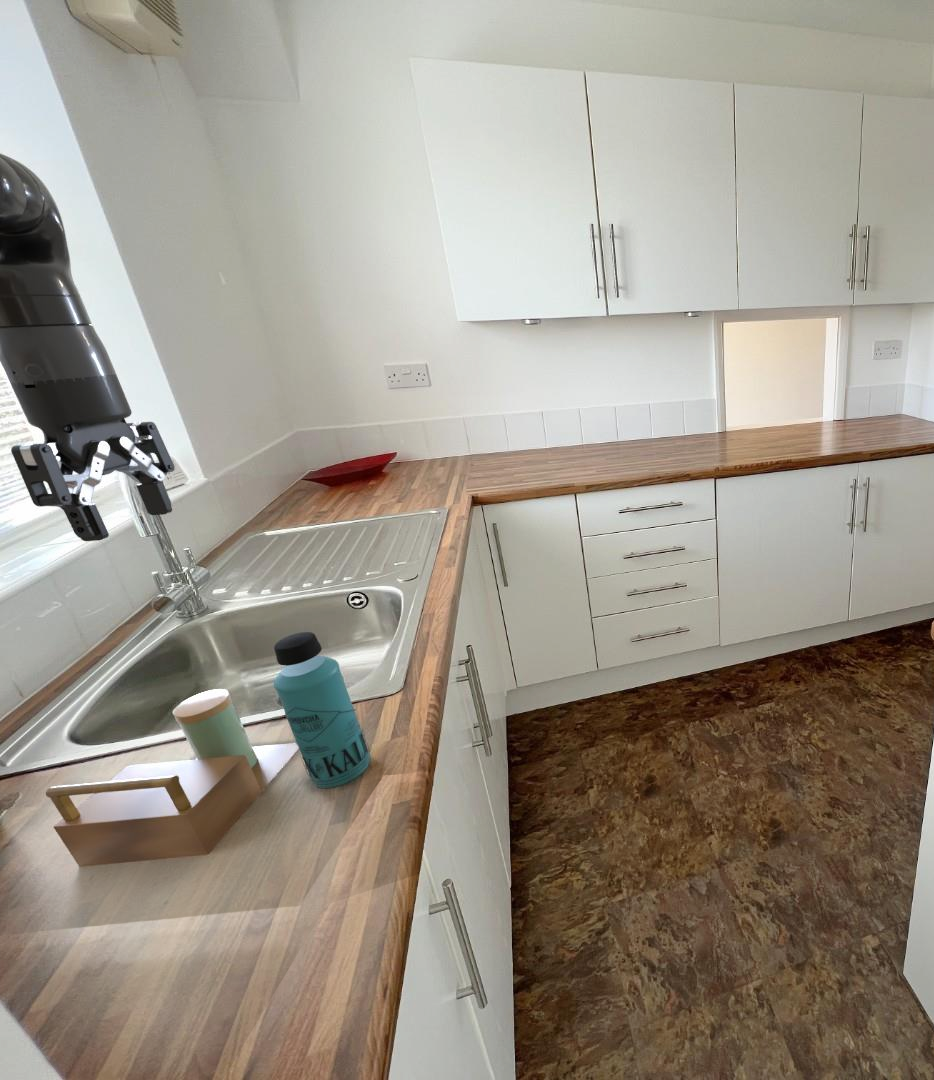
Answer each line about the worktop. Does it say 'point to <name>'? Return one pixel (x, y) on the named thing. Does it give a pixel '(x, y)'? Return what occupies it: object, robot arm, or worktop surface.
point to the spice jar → (214, 726)
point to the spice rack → (163, 807)
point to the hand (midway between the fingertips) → (130, 526)
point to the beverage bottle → (319, 712)
